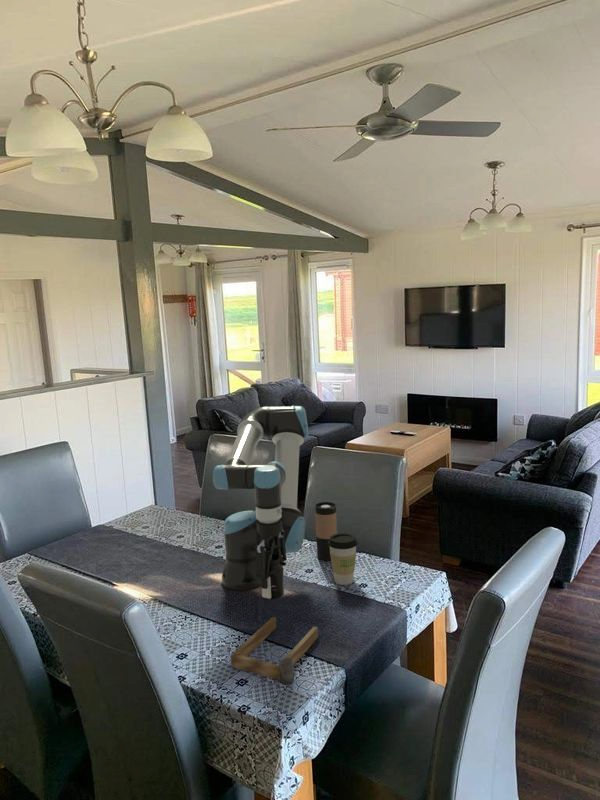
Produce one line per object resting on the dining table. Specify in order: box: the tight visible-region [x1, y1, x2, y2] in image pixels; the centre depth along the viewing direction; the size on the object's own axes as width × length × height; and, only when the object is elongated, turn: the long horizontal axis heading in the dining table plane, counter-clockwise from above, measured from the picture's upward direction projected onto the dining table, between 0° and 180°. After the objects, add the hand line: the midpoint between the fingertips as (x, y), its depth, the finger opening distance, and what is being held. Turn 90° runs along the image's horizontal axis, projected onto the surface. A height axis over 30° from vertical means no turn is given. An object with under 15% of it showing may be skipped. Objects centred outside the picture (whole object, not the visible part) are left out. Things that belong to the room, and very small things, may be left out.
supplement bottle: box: [260, 554, 285, 601], centre depth 175 cm, size 7×7×12 cm
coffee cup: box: [328, 532, 359, 586], centre depth 194 cm, size 10×10×15 cm
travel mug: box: [314, 501, 338, 563], centre depth 213 cm, size 8×8×20 cm
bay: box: [230, 616, 319, 685], centre depth 154 cm, size 17×22×5 cm
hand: (273, 591), depth 176 cm, fingers closed on supplement bottle, 7 cm apart
